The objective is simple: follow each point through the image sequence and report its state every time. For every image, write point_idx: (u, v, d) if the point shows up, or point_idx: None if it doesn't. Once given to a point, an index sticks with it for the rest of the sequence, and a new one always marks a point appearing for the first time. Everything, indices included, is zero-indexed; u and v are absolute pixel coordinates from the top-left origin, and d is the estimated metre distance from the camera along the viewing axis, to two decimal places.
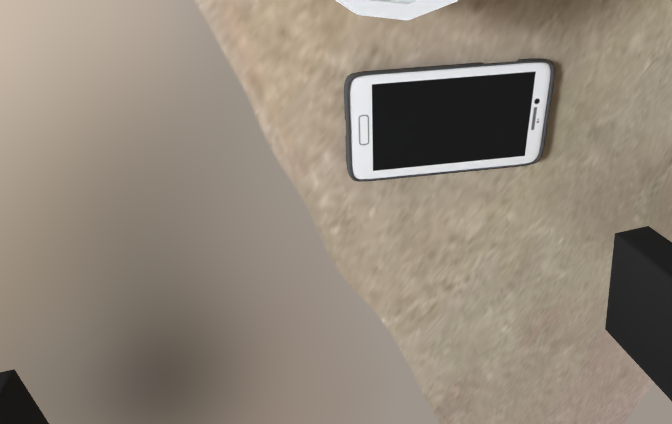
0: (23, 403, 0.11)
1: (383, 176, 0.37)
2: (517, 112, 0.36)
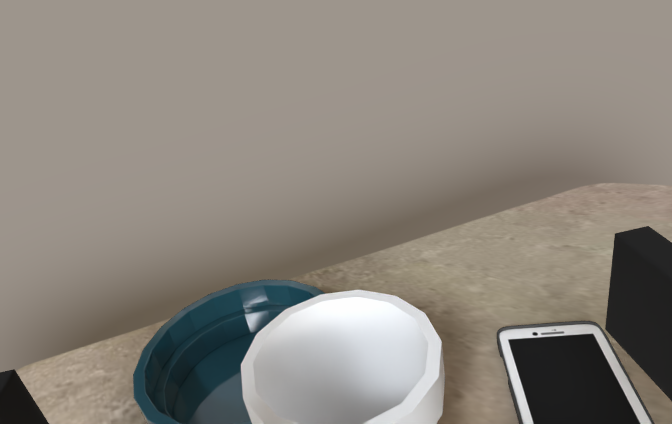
0: (23, 402, 0.11)
1: None
2: (549, 346, 0.38)
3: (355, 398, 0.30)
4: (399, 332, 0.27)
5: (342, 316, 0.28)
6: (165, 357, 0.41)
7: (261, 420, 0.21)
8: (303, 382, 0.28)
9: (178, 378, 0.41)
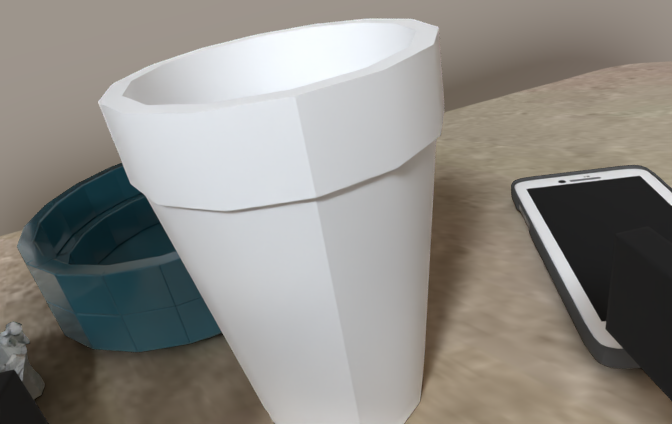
0: (24, 402, 0.11)
1: None
2: (582, 190, 0.29)
3: None
4: None
5: (289, 65, 0.19)
6: (78, 221, 0.31)
7: (117, 113, 0.12)
8: None
9: (97, 250, 0.31)
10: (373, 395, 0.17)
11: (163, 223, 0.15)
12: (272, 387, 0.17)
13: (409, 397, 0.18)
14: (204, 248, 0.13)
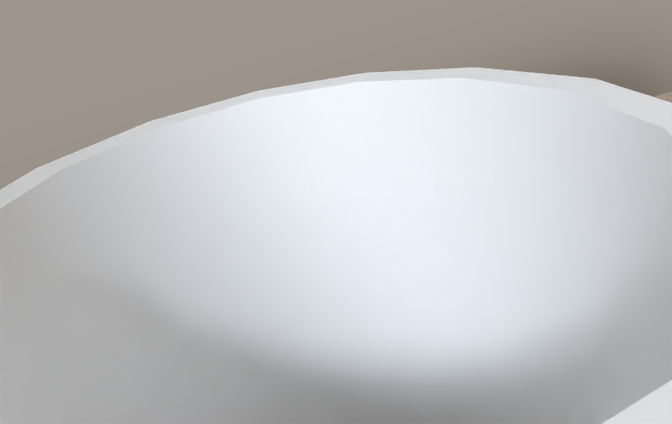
0: None
1: None
2: None
3: (355, 384, 0.12)
4: (490, 173, 0.09)
5: (318, 149, 0.10)
6: None
7: None
8: (212, 337, 0.10)
9: None
10: None
11: None
12: None
13: None
14: None
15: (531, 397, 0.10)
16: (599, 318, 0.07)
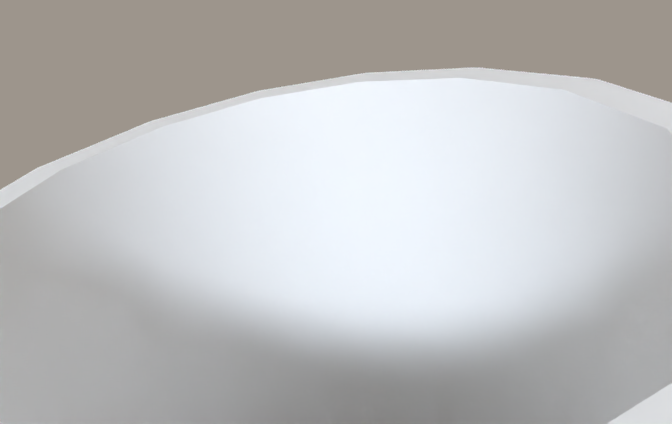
0: None
1: None
2: None
3: (355, 384, 0.12)
4: (490, 172, 0.09)
5: (318, 150, 0.10)
6: None
7: None
8: (212, 337, 0.10)
9: None
10: None
11: None
12: None
13: None
14: None
15: (531, 398, 0.10)
16: (600, 318, 0.07)
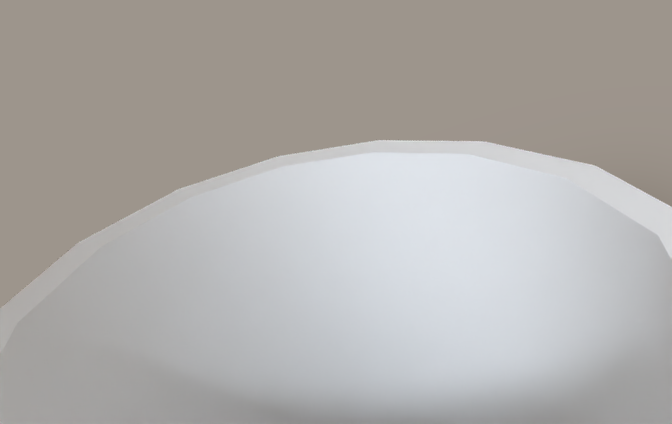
0: None
1: None
2: None
3: None
4: (497, 241, 0.09)
5: (334, 212, 0.11)
6: None
7: None
8: (235, 388, 0.11)
9: None
10: None
11: None
12: None
13: None
14: None
15: None
16: (600, 388, 0.08)
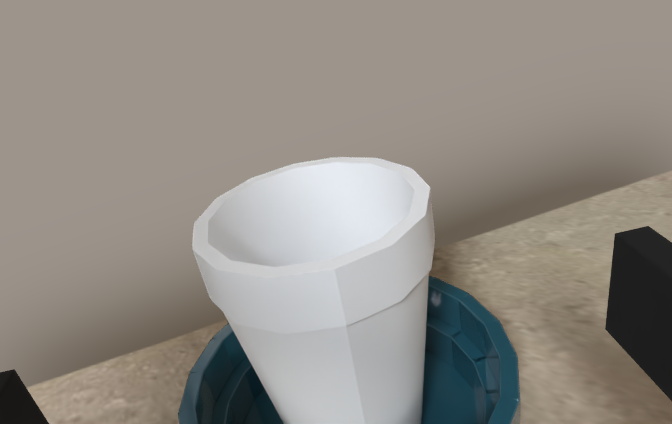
0: (24, 403, 0.11)
1: None
2: None
3: None
4: (382, 198, 0.23)
5: (317, 188, 0.24)
6: (220, 383, 0.27)
7: (211, 265, 0.18)
8: (273, 266, 0.25)
9: (239, 414, 0.27)
10: None
11: (232, 325, 0.20)
12: None
13: None
14: (265, 349, 0.19)
15: None
16: None
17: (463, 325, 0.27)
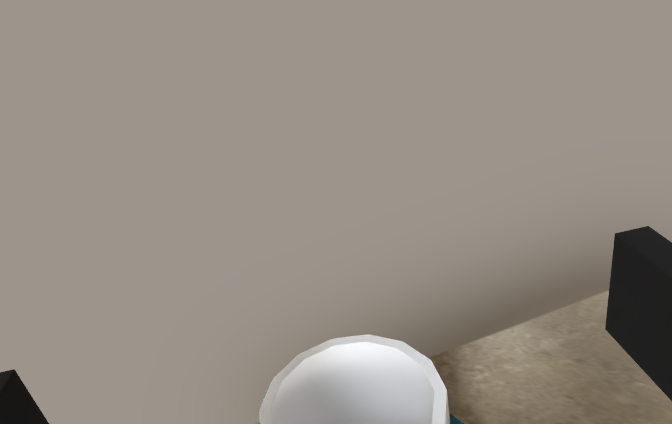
0: (24, 402, 0.11)
1: None
2: None
3: None
4: (406, 375, 0.28)
5: (352, 359, 0.30)
6: None
7: None
8: (315, 421, 0.30)
9: None
10: None
11: None
12: None
13: None
14: None
15: None
16: None
17: None
